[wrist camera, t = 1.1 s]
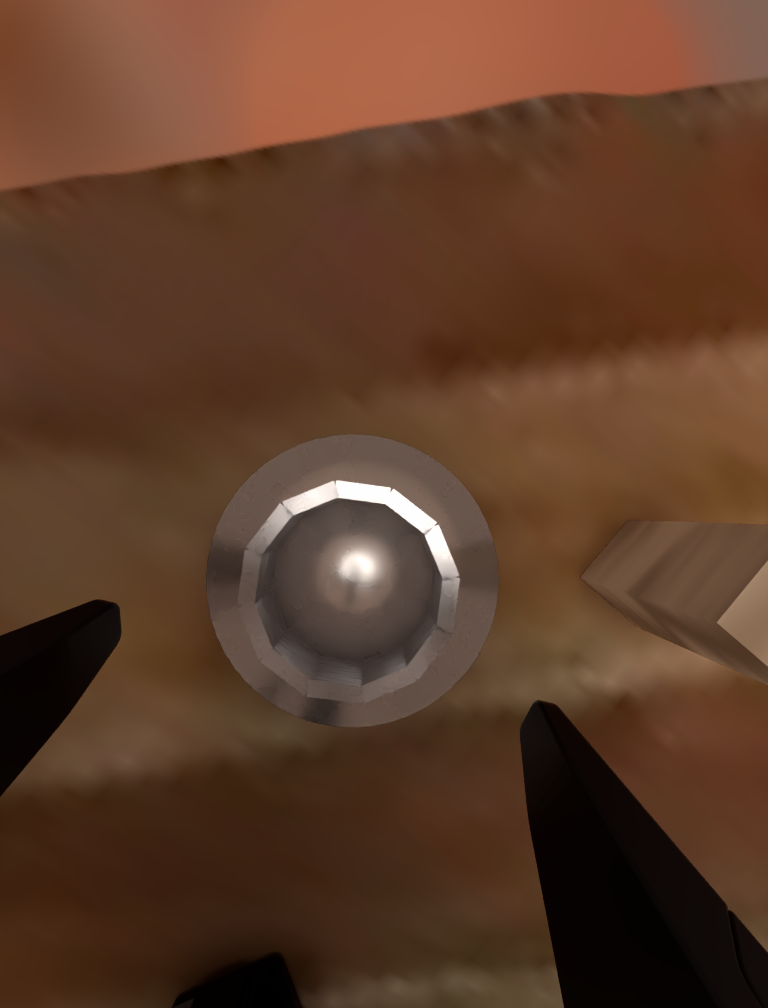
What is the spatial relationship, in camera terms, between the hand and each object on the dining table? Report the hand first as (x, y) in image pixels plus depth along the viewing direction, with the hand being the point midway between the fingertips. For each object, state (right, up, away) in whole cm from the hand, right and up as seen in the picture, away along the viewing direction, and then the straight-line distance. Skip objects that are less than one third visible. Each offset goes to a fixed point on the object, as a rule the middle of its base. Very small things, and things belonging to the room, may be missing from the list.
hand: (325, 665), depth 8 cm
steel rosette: (0, -1, +14) cm, 14 cm away
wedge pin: (+16, -1, +14) cm, 21 cm away
